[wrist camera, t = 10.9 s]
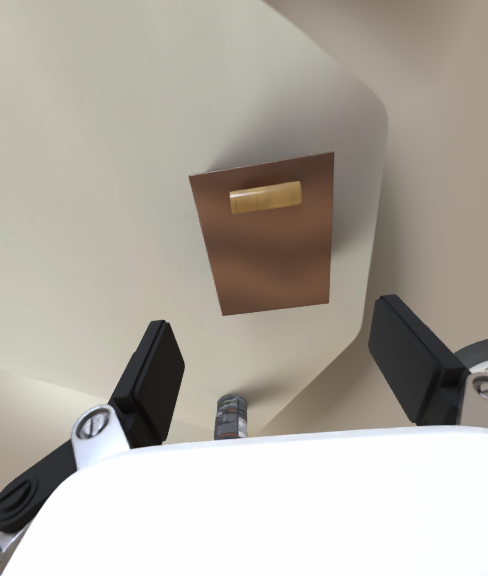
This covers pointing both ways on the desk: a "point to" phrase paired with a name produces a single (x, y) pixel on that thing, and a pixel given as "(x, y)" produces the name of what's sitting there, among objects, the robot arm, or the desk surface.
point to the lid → (268, 232)
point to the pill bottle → (231, 418)
